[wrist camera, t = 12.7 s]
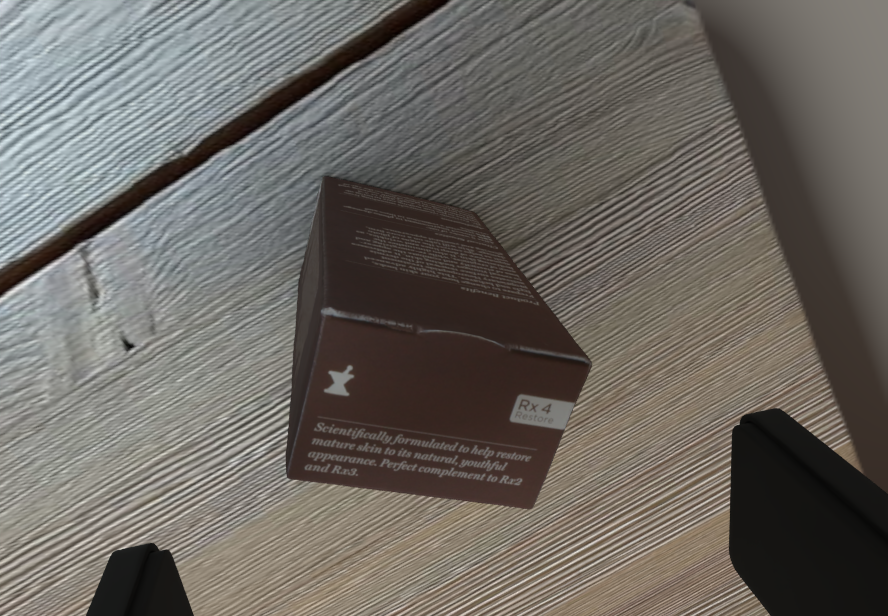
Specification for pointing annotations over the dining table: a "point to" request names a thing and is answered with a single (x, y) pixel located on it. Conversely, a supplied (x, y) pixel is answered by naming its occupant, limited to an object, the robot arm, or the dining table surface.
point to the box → (423, 355)
